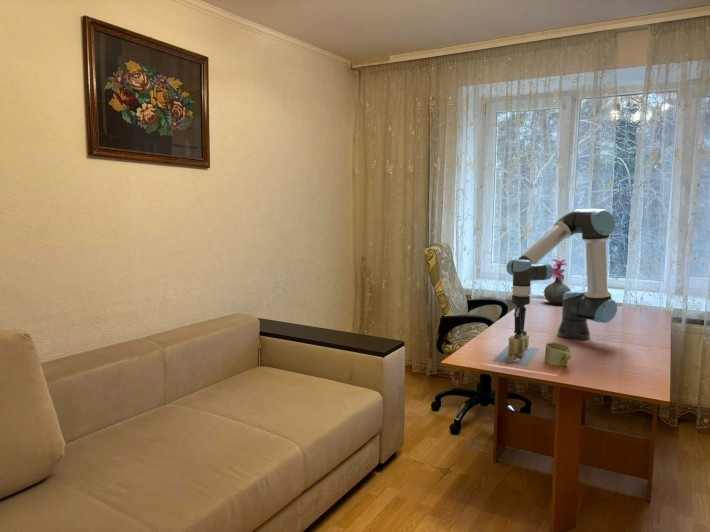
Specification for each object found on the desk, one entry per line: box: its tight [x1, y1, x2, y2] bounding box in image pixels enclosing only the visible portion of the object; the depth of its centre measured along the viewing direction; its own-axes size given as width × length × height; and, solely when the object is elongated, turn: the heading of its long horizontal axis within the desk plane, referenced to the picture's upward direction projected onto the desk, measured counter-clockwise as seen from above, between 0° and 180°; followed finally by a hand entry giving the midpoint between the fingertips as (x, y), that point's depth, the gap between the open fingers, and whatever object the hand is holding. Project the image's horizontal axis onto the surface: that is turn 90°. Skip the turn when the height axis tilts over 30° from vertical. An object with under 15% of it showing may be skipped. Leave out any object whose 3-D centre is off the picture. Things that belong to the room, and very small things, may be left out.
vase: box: [543, 258, 572, 306], centre depth 349 cm, size 17×18×30 cm
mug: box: [544, 342, 572, 368], centre depth 218 cm, size 12×10×10 cm
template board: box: [492, 344, 541, 367], centre depth 232 cm, size 14×31×1 cm, turn 150°
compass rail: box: [505, 330, 530, 365], centre depth 231 cm, size 4×29×7 cm, turn 151°
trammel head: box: [508, 333, 525, 357], centre depth 229 cm, size 6×4×9 cm
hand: (518, 346), depth 234 cm, fingers closed
